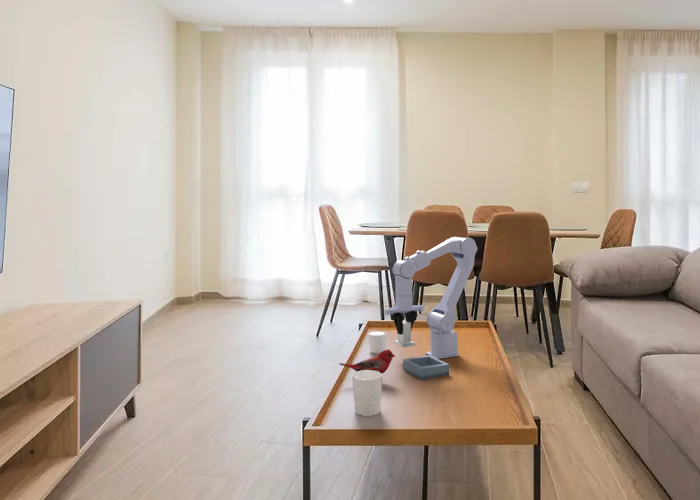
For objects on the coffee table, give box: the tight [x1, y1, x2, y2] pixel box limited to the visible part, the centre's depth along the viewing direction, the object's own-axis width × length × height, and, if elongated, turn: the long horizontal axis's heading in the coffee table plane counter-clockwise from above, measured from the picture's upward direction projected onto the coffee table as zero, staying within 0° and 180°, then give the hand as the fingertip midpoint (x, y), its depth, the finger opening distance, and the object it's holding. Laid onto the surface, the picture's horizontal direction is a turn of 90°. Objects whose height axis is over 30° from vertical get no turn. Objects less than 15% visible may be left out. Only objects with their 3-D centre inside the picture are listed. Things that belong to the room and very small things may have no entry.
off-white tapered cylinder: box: [368, 330, 387, 354], centre depth 193 cm, size 7×7×7 cm
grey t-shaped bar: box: [393, 319, 416, 348], centre depth 180 cm, size 5×6×8 cm
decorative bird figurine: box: [338, 349, 397, 375], centre depth 159 cm, size 3×18×10 cm, turn 94°
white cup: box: [351, 370, 383, 417], centre depth 136 cm, size 8×8×10 cm
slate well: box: [402, 354, 450, 381], centre depth 168 cm, size 10×11×4 cm
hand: (404, 333), depth 180 cm, fingers closed on grey t-shaped bar, 3 cm apart
